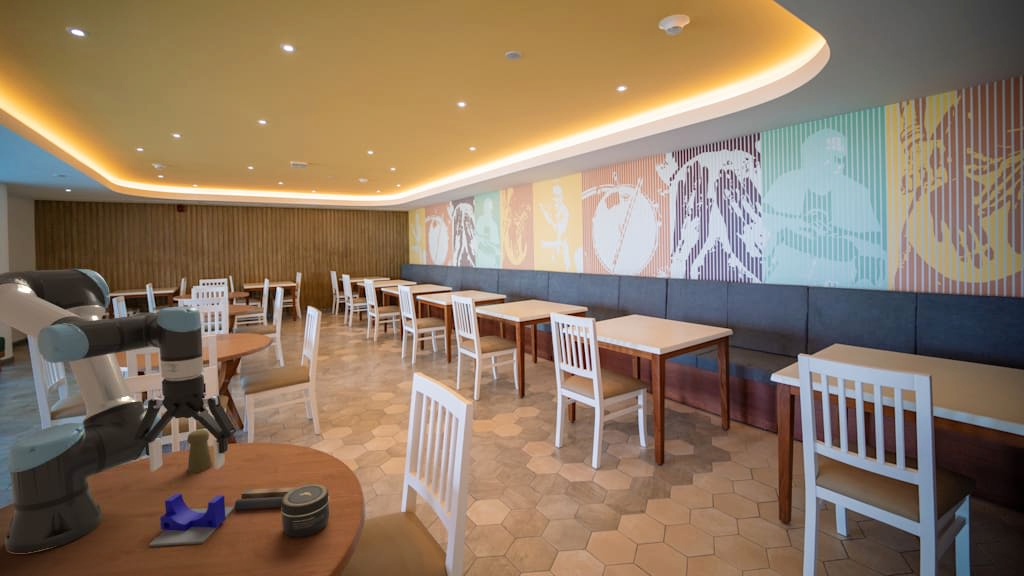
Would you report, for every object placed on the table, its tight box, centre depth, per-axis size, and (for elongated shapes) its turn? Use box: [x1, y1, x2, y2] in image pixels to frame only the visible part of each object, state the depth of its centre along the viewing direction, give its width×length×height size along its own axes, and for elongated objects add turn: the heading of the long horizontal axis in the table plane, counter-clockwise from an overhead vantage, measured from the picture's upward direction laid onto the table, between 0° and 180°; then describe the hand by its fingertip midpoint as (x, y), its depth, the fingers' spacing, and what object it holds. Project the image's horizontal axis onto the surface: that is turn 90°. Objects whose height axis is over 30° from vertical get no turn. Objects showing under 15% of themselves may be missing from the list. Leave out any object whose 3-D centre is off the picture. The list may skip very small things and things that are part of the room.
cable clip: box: [160, 493, 227, 531], centre depth 102 cm, size 12×4×6 cm, turn 86°
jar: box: [280, 483, 330, 539], centre depth 102 cm, size 10×10×8 cm
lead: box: [234, 497, 283, 511], centre depth 110 cm, size 14×2×2 cm, turn 95°
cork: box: [187, 429, 214, 474], centre depth 130 cm, size 6×6×11 cm
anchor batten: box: [240, 486, 298, 499], centre depth 113 cm, size 14×2×2 cm, turn 95°
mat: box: [148, 506, 235, 547], centre depth 102 cm, size 11×13×1 cm
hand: (188, 467), depth 100 cm, fingers open, 13 cm apart
